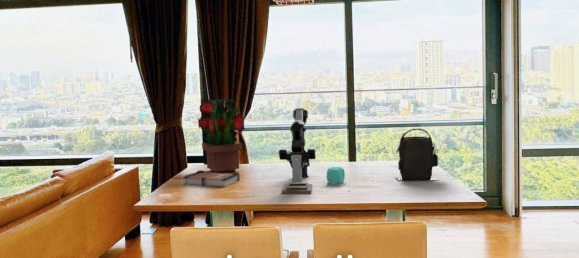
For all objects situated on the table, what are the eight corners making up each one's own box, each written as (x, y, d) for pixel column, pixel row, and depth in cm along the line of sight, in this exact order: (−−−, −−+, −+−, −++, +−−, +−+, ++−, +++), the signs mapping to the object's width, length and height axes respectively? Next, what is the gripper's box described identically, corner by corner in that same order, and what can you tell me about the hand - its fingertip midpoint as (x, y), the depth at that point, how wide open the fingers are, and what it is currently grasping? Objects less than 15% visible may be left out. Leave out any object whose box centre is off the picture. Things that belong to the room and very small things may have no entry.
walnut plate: (284, 187, 250) (284, 182, 250) (312, 186, 249) (312, 182, 249) (282, 193, 236) (281, 189, 236) (311, 193, 235) (311, 188, 235)
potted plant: (200, 170, 303) (197, 99, 298) (233, 166, 313) (230, 98, 308) (211, 176, 283) (207, 101, 278) (246, 172, 293) (243, 99, 288)
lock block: (293, 180, 245) (292, 153, 243) (301, 180, 244) (301, 153, 243) (292, 182, 239) (291, 155, 238) (301, 182, 239) (300, 155, 237)
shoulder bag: (435, 177, 264) (436, 127, 261) (440, 180, 255) (440, 128, 252) (394, 177, 265) (394, 128, 262) (397, 181, 256) (397, 129, 253)
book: (183, 185, 264) (182, 176, 263) (200, 178, 280) (199, 170, 279) (224, 188, 254) (224, 179, 253) (239, 181, 270) (239, 172, 270)
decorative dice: (330, 180, 263) (330, 166, 262) (344, 181, 260) (344, 167, 259) (326, 183, 255) (326, 169, 255) (341, 184, 253) (340, 169, 252)
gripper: (278, 134, 244) (276, 159, 235) (314, 133, 243) (314, 158, 233) (280, 147, 253) (279, 171, 243) (315, 146, 251) (315, 171, 242)
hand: (296, 168), depth 240 cm, fingers closed on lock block, 4 cm apart
